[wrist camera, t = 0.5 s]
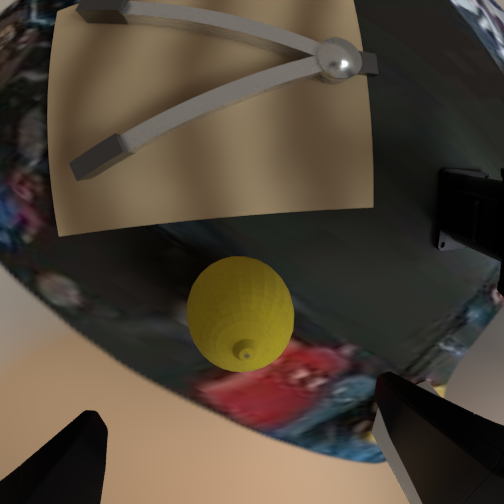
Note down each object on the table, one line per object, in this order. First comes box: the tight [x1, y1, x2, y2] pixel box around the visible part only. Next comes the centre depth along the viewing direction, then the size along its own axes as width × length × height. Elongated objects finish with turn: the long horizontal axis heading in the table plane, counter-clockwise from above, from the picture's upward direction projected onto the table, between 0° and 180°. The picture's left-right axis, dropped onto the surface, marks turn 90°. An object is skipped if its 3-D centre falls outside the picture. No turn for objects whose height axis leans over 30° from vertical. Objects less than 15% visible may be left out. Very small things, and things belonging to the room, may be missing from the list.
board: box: [47, 0, 373, 237], centre depth 15 cm, size 20×16×1 cm
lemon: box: [187, 256, 294, 372], centre depth 15 cm, size 6×6×8 cm
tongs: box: [69, 0, 379, 181], centre depth 13 cm, size 17×12×2 cm
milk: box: [371, 381, 441, 504], centre depth 15 cm, size 6×6×22 cm
